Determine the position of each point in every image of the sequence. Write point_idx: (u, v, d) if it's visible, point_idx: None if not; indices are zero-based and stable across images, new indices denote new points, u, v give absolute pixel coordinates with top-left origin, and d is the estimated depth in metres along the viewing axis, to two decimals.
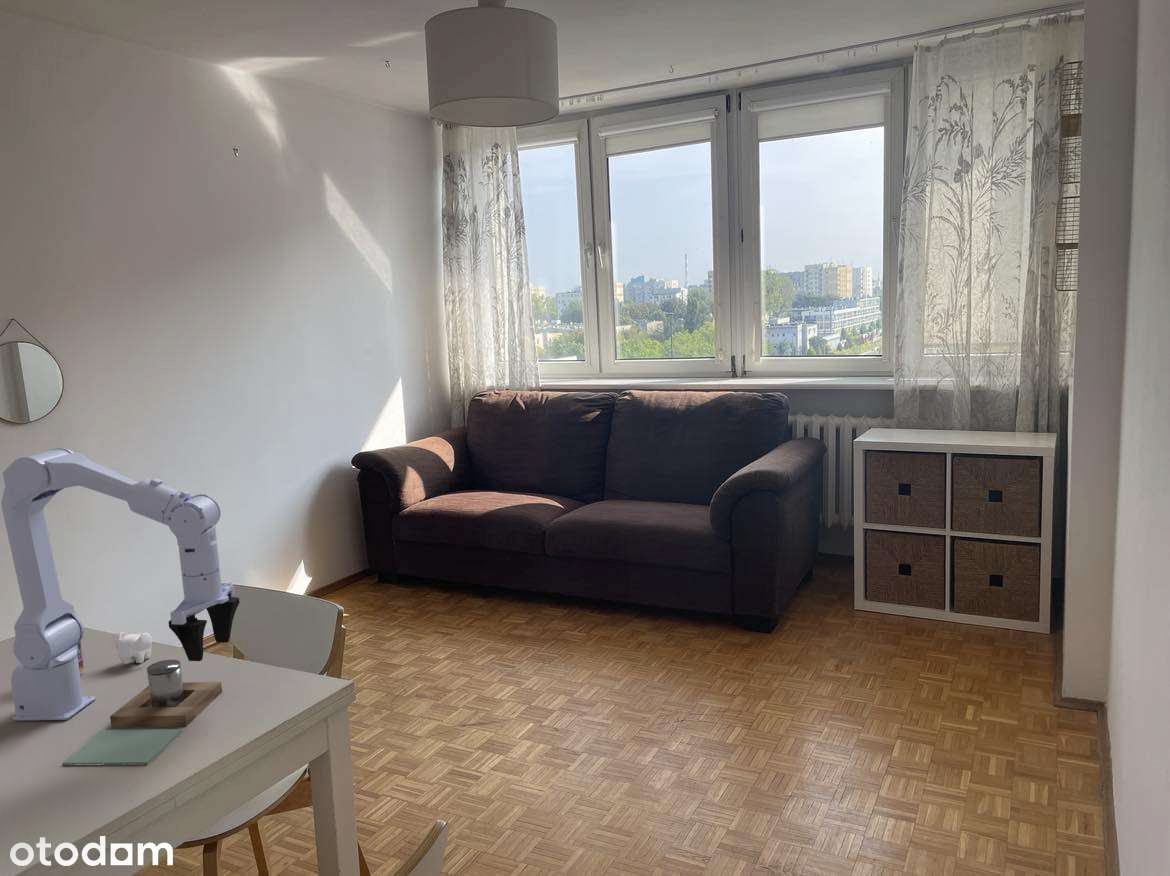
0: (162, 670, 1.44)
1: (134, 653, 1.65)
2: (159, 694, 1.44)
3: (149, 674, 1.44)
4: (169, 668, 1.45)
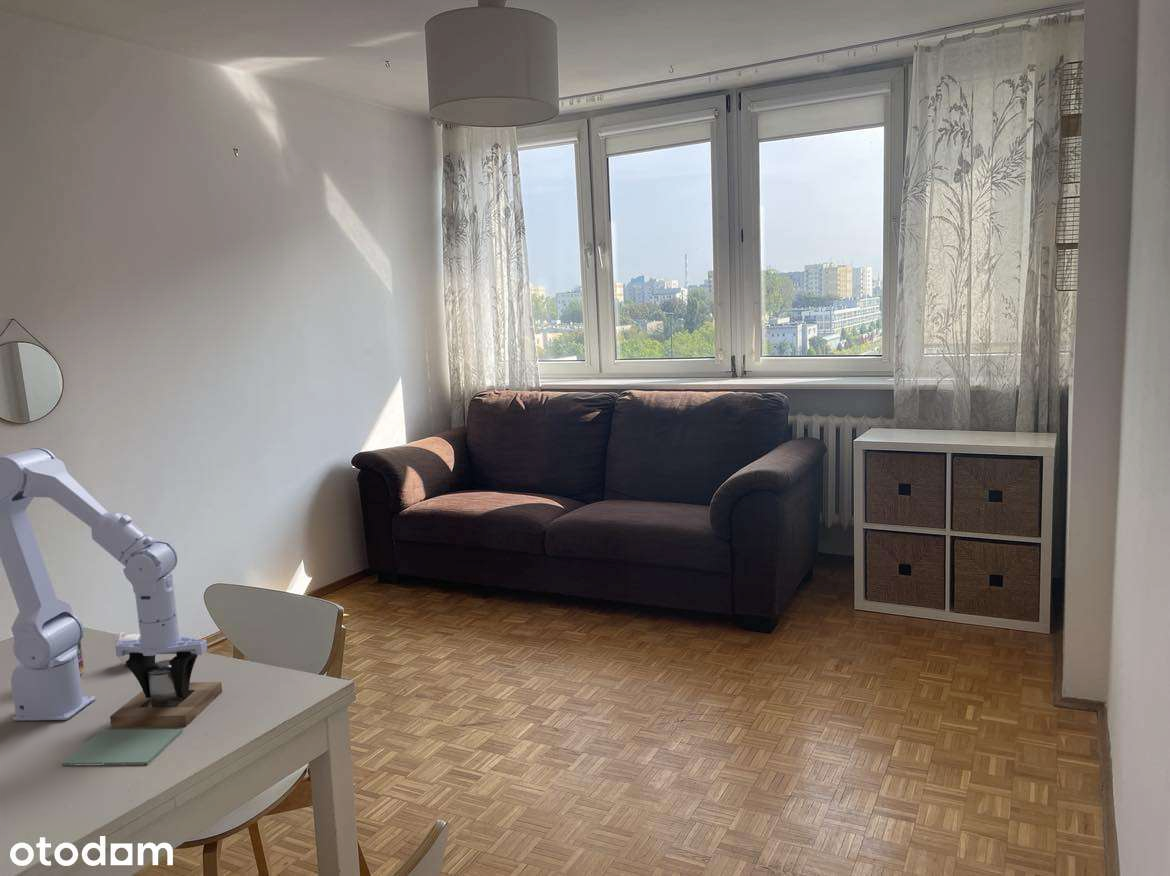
0: (162, 670, 1.44)
1: None
2: (159, 694, 1.44)
3: (149, 674, 1.44)
4: (169, 668, 1.45)
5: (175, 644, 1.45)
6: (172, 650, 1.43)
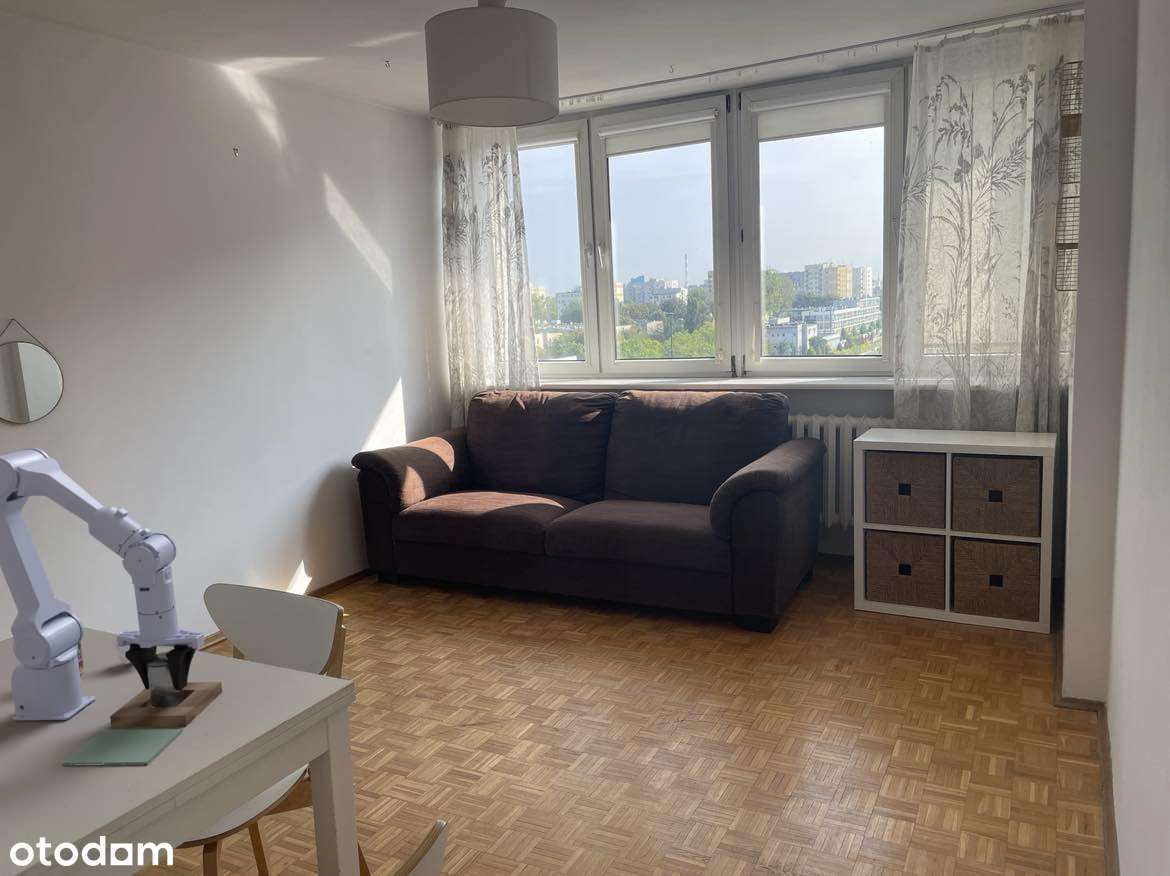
0: (159, 662, 1.44)
1: None
2: (157, 686, 1.44)
3: (147, 666, 1.44)
4: (167, 660, 1.45)
5: (173, 637, 1.44)
6: (169, 643, 1.43)
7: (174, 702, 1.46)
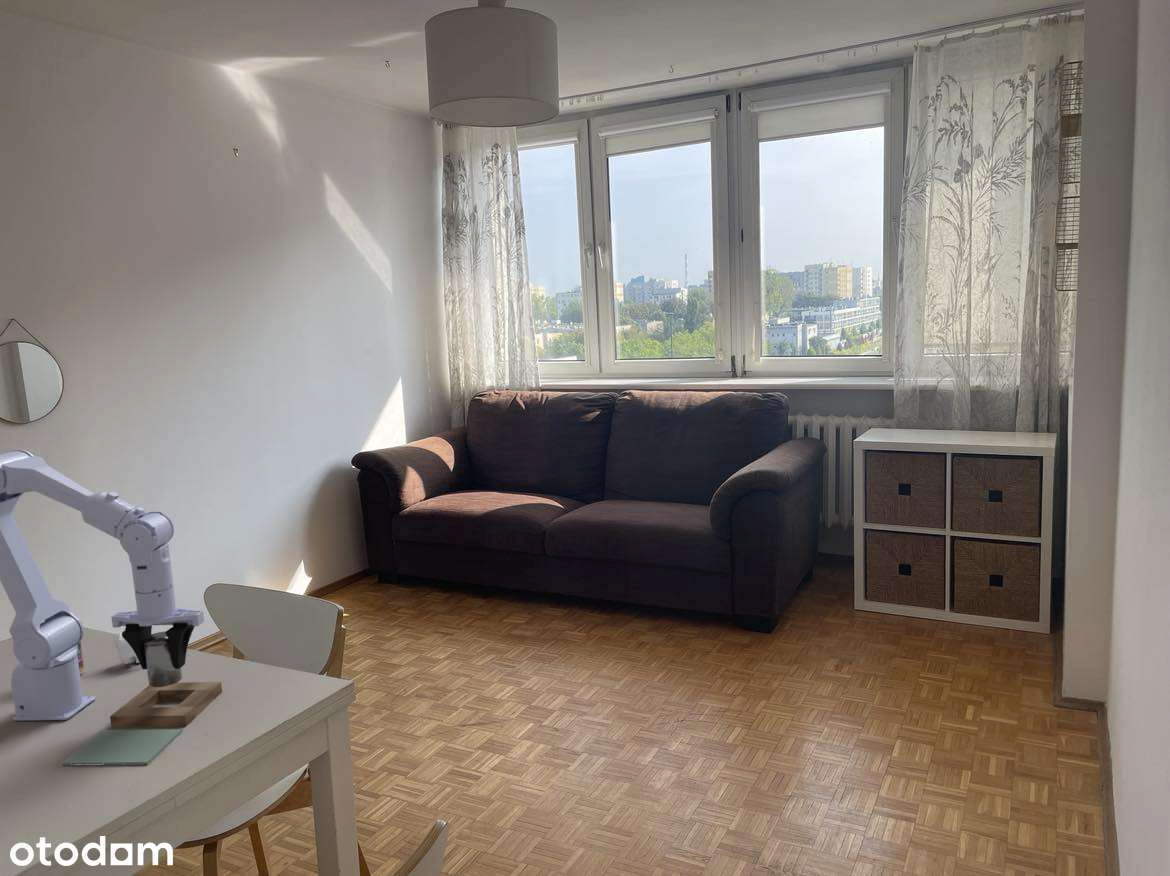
0: (158, 641, 1.44)
1: (134, 653, 1.65)
2: (156, 665, 1.44)
3: (145, 645, 1.44)
4: (165, 639, 1.44)
5: (171, 615, 1.44)
6: (168, 621, 1.43)
7: (174, 681, 1.45)
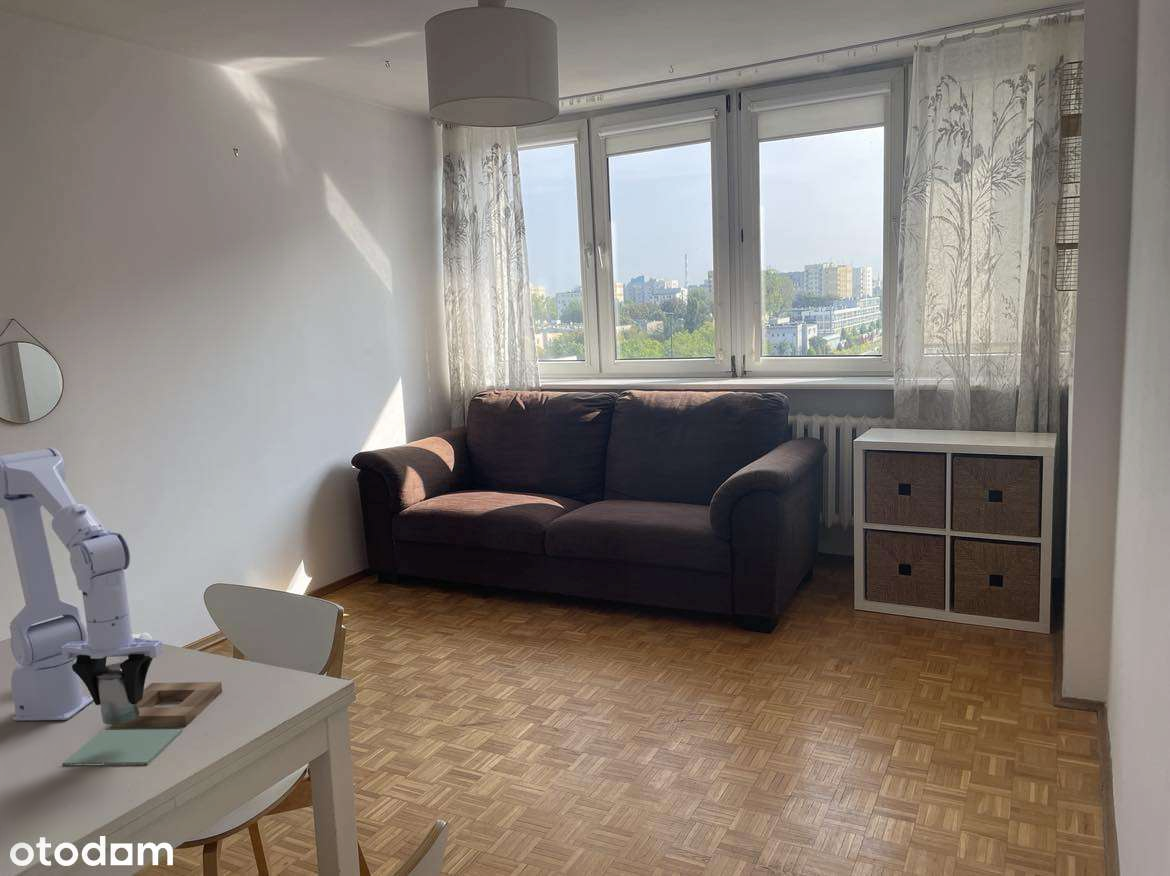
0: (112, 674, 1.31)
1: None
2: (110, 700, 1.31)
3: (98, 679, 1.31)
4: (120, 672, 1.32)
5: (127, 646, 1.31)
6: (123, 652, 1.30)
7: (129, 717, 1.33)
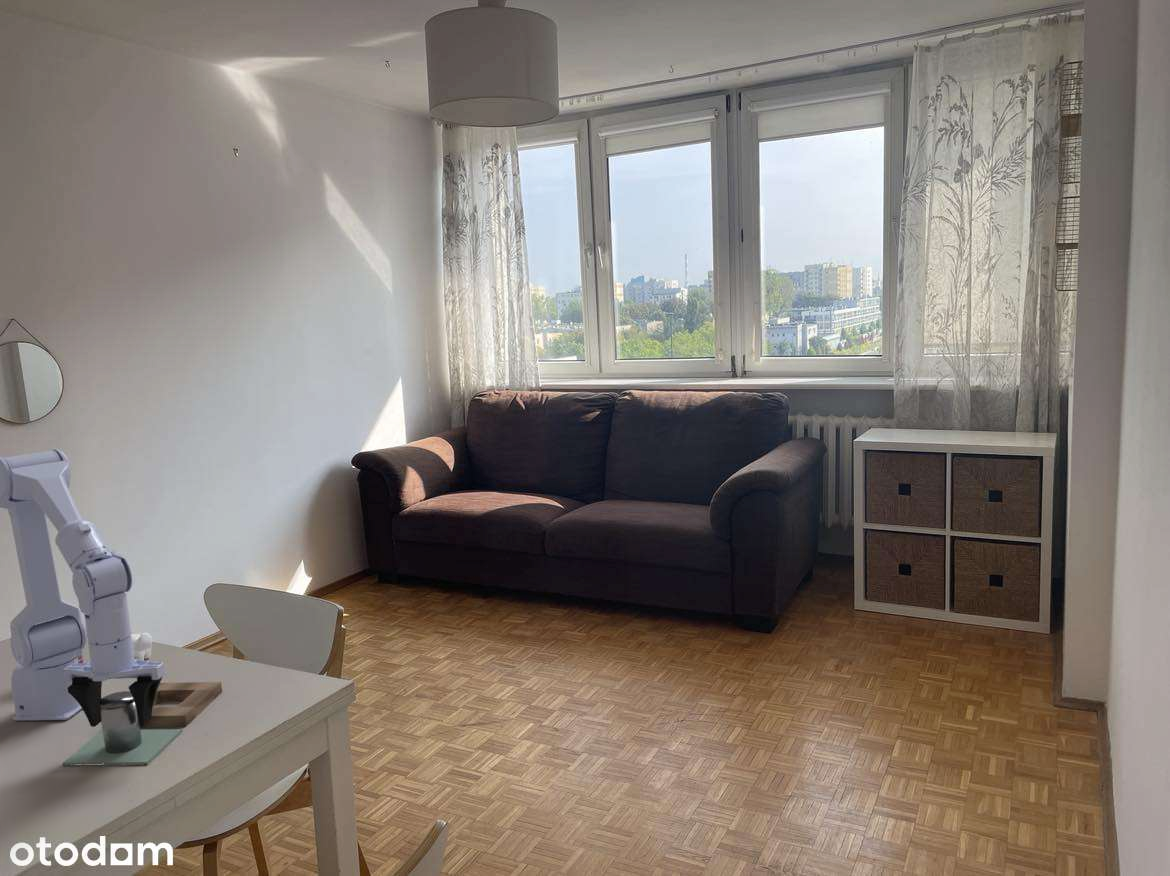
0: (115, 704, 1.31)
1: (134, 653, 1.65)
2: (112, 730, 1.32)
3: (101, 708, 1.31)
4: (123, 701, 1.32)
5: (129, 668, 1.32)
6: (125, 675, 1.30)
7: (132, 746, 1.33)
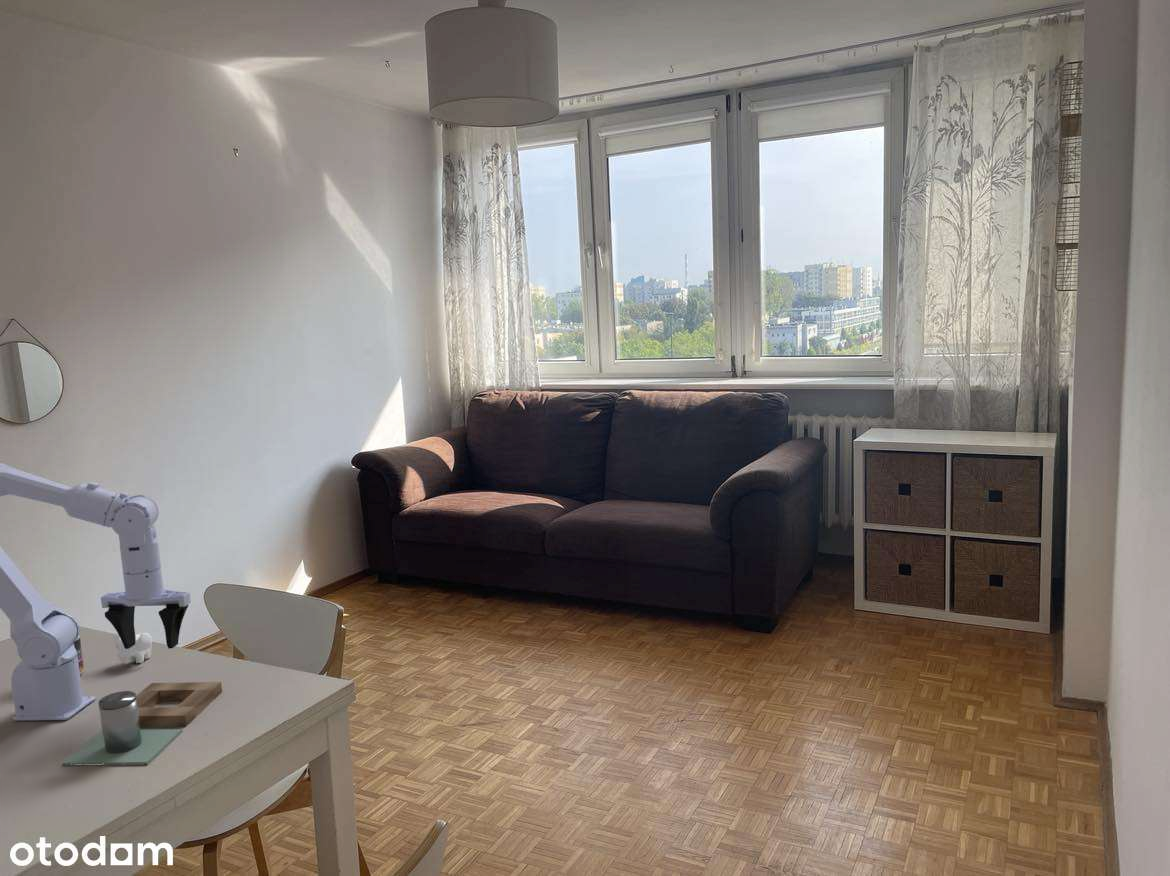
0: (115, 704, 1.31)
1: (134, 653, 1.65)
2: (112, 730, 1.31)
3: (101, 708, 1.31)
4: (123, 701, 1.32)
5: (159, 596, 1.48)
6: (155, 601, 1.46)
7: (132, 746, 1.33)
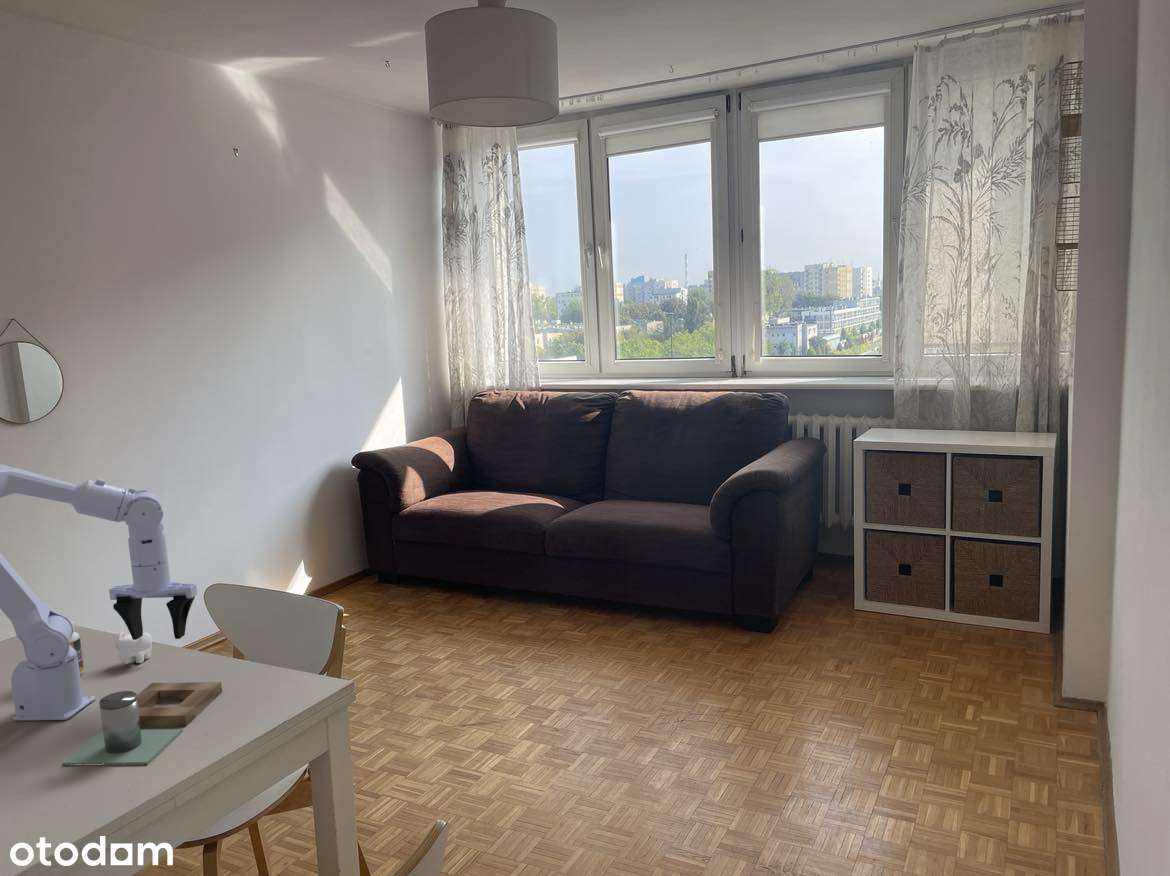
0: (116, 704, 1.31)
1: (134, 653, 1.65)
2: (113, 730, 1.32)
3: (102, 708, 1.31)
4: (124, 701, 1.32)
5: (166, 588, 1.52)
6: (163, 593, 1.51)
7: (133, 746, 1.33)
